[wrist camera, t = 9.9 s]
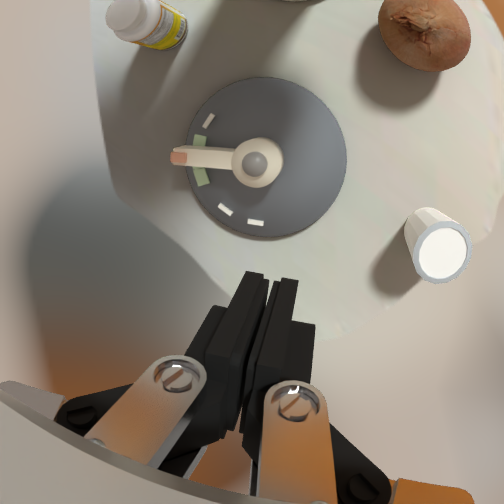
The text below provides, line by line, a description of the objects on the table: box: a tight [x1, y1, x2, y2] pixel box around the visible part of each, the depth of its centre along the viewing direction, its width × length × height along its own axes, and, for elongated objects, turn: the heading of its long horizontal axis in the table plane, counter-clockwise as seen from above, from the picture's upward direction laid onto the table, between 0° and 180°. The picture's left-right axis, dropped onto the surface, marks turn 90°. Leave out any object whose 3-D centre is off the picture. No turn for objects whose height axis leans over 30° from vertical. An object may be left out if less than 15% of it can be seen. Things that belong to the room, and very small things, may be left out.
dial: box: [186, 77, 347, 237], centre depth 34 cm, size 18×18×2 cm
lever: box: [170, 137, 284, 188], centre depth 32 cm, size 11×5×4 cm, turn 86°
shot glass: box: [404, 207, 472, 284], centre depth 31 cm, size 7×7×7 cm
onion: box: [378, 0, 471, 72], centre depth 22 cm, size 10×9×10 cm
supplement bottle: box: [106, 0, 188, 50], centre depth 26 cm, size 6×6×10 cm
